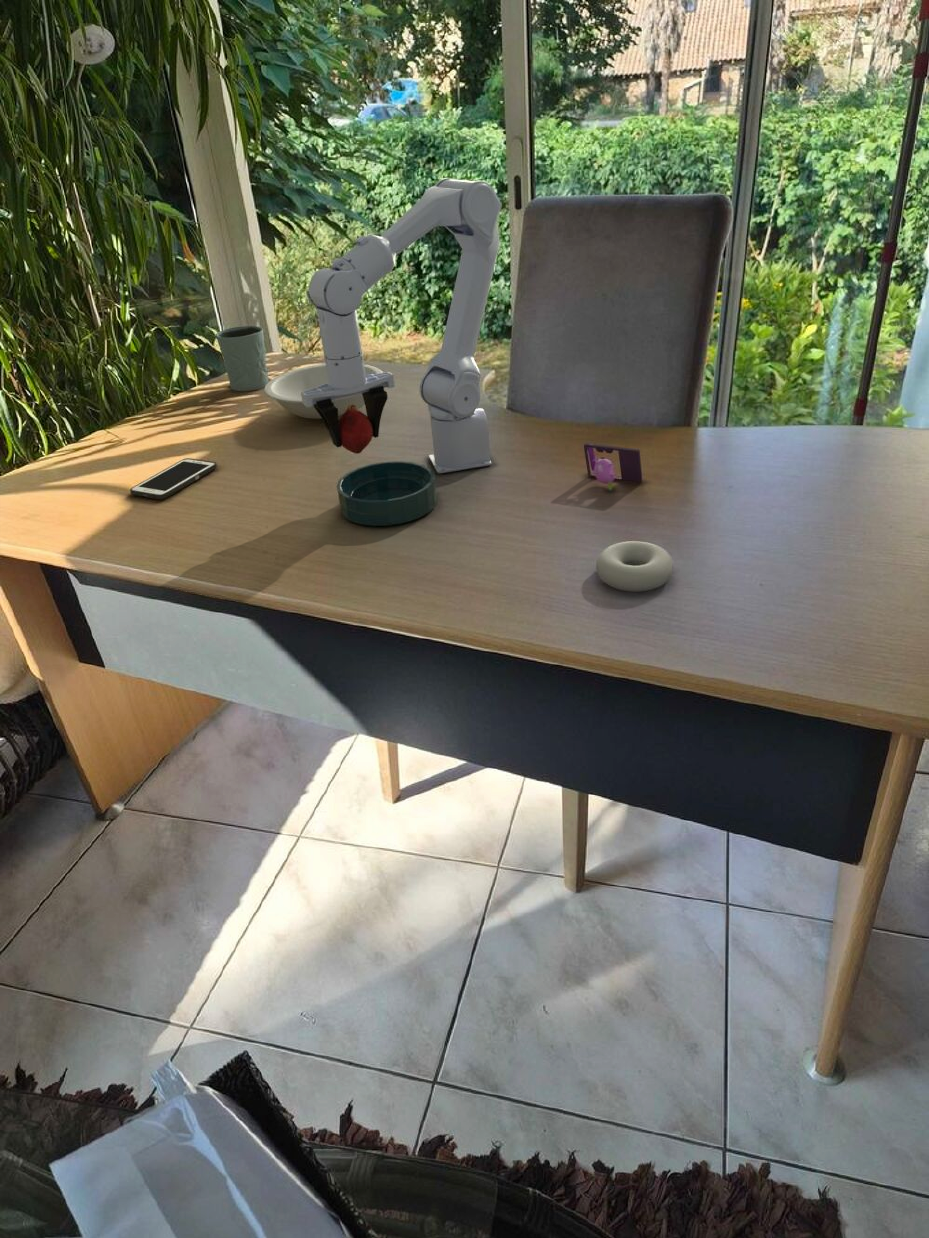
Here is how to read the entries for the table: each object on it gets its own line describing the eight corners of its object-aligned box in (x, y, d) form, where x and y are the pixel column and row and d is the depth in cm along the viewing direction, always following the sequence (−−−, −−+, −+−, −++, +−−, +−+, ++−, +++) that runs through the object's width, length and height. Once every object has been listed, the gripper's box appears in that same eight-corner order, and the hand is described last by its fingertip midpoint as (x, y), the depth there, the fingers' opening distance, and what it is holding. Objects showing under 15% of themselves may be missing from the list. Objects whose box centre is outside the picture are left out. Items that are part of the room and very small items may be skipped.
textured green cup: (221, 392, 194) (208, 338, 188) (238, 378, 203) (226, 325, 196) (263, 391, 193) (252, 337, 186) (279, 377, 201) (269, 324, 194)
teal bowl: (426, 480, 146) (423, 455, 143) (446, 518, 133) (443, 491, 131) (336, 495, 143) (331, 470, 141) (348, 535, 131) (343, 508, 128)
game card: (641, 446, 134) (585, 440, 138) (630, 469, 131) (574, 462, 135) (643, 478, 139) (590, 471, 143) (634, 501, 136) (579, 493, 140)
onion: (369, 461, 136) (362, 411, 132) (334, 460, 137) (326, 411, 133) (380, 446, 141) (373, 398, 136) (346, 446, 142) (338, 398, 138)
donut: (660, 555, 119) (588, 562, 119) (662, 533, 117) (589, 539, 117) (682, 593, 111) (604, 600, 110) (684, 569, 109) (605, 576, 108)
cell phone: (129, 495, 149) (127, 489, 149) (187, 462, 160) (185, 457, 160) (162, 501, 146) (161, 495, 146) (219, 467, 157) (218, 462, 156)
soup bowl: (382, 429, 167) (378, 396, 164) (259, 438, 168) (252, 405, 165) (392, 389, 187) (388, 359, 184) (282, 397, 189) (276, 366, 185)
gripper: (376, 339, 136) (387, 422, 143) (288, 358, 131) (304, 443, 138) (395, 348, 131) (405, 434, 138) (304, 369, 125) (320, 457, 133)
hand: (356, 440), depth 138 cm, fingers closed on onion, 6 cm apart
